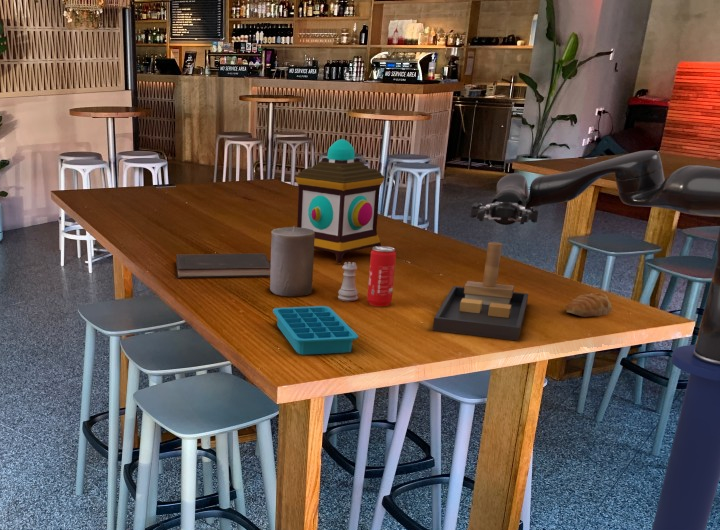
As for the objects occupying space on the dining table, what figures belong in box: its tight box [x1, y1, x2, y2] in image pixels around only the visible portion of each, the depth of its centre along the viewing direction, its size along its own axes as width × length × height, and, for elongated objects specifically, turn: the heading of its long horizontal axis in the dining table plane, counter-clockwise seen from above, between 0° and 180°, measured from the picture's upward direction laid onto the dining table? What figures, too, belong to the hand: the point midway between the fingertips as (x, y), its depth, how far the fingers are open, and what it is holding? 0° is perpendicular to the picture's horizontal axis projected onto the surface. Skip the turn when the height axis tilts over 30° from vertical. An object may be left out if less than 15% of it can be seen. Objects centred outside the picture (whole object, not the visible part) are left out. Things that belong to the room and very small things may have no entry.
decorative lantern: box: [294, 138, 386, 265], centre depth 209 cm, size 20×20×30 cm
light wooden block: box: [459, 298, 482, 313], centre depth 163 cm, size 3×4×2 cm
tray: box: [432, 285, 529, 342], centre depth 161 cm, size 26×16×3 cm, turn 156°
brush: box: [464, 241, 515, 305], centre depth 166 cm, size 4×10×13 cm, turn 66°
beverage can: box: [366, 245, 397, 308], centre depth 168 cm, size 5×5×12 cm
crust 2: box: [488, 303, 511, 318], centre depth 160 cm, size 3×4×2 cm
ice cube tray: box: [272, 305, 359, 356], centre depth 149 cm, size 12×20×3 cm, turn 8°
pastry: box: [565, 292, 613, 318], centre depth 163 cm, size 9×7×4 cm
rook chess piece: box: [337, 261, 359, 302], centre depth 172 cm, size 4×4×8 cm
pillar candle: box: [269, 225, 315, 297], centre depth 177 cm, size 10×10×15 cm
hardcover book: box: [175, 252, 271, 279], centre depth 198 cm, size 16×23×2 cm
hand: (501, 217), depth 172 cm, fingers open, 8 cm apart
